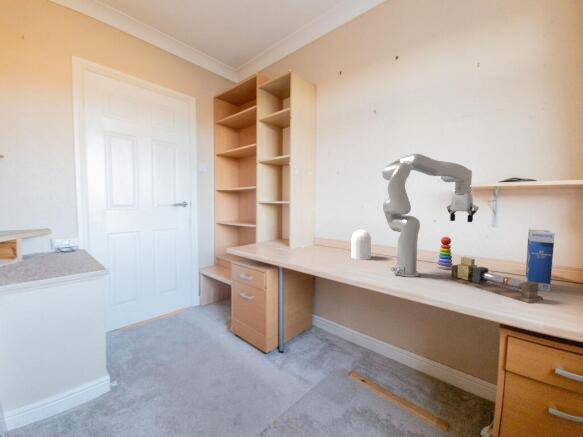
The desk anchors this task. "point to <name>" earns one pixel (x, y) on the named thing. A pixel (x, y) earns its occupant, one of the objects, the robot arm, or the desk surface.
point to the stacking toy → (445, 254)
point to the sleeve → (465, 268)
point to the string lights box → (540, 258)
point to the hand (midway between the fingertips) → (460, 221)
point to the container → (361, 245)
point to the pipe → (499, 279)
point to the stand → (502, 288)
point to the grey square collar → (478, 274)
